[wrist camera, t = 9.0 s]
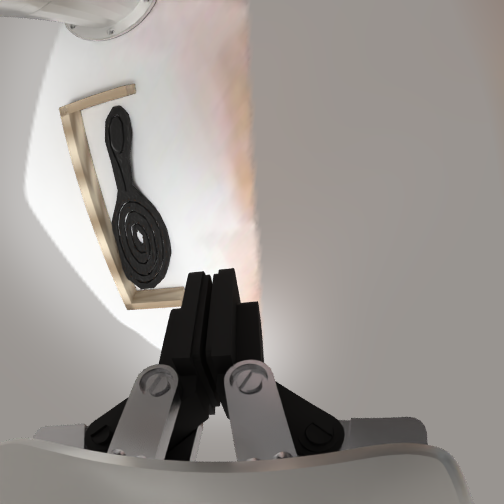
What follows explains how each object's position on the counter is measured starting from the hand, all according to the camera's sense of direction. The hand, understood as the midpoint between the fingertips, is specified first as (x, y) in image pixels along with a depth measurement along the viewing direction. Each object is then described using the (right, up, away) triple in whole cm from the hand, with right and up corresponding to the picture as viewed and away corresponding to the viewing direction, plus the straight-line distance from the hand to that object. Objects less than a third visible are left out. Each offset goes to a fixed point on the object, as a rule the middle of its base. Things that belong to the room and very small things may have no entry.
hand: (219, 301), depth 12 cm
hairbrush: (-14, +9, +27) cm, 32 cm away
